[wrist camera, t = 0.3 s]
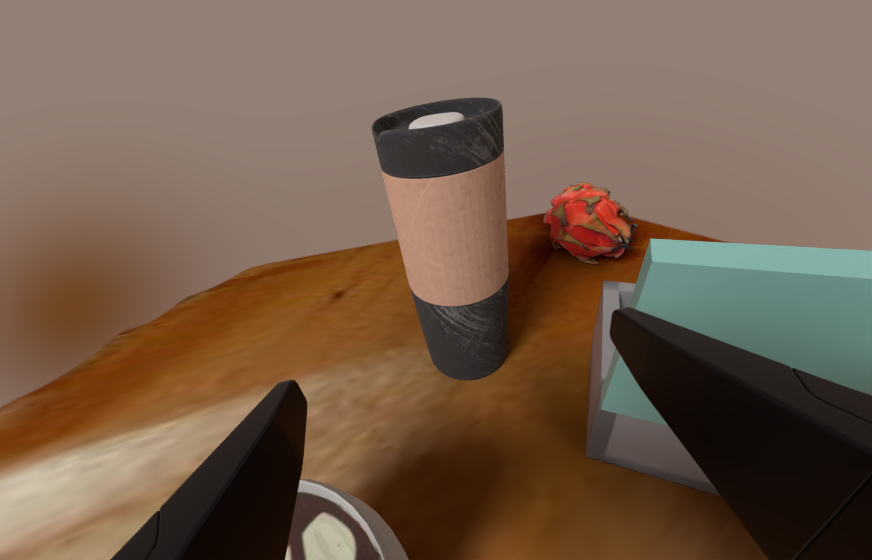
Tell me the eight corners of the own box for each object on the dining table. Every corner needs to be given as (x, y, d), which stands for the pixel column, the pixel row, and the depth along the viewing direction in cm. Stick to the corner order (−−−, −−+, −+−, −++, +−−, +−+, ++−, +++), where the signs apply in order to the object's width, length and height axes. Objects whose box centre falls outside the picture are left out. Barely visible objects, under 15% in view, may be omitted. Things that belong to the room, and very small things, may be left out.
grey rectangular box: (959, 566, 15) (1121, 510, 11) (585, 456, 22) (600, 393, 17) (849, 388, 22) (923, 313, 18) (591, 344, 29) (603, 280, 24)
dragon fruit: (556, 235, 46) (614, 292, 38) (514, 218, 42) (570, 278, 34) (599, 182, 42) (674, 233, 34) (557, 157, 38) (633, 208, 29)
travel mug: (519, 328, 31) (519, 91, 20) (496, 395, 26) (476, 126, 14) (446, 313, 35) (408, 103, 23) (413, 370, 29) (341, 134, 18)
